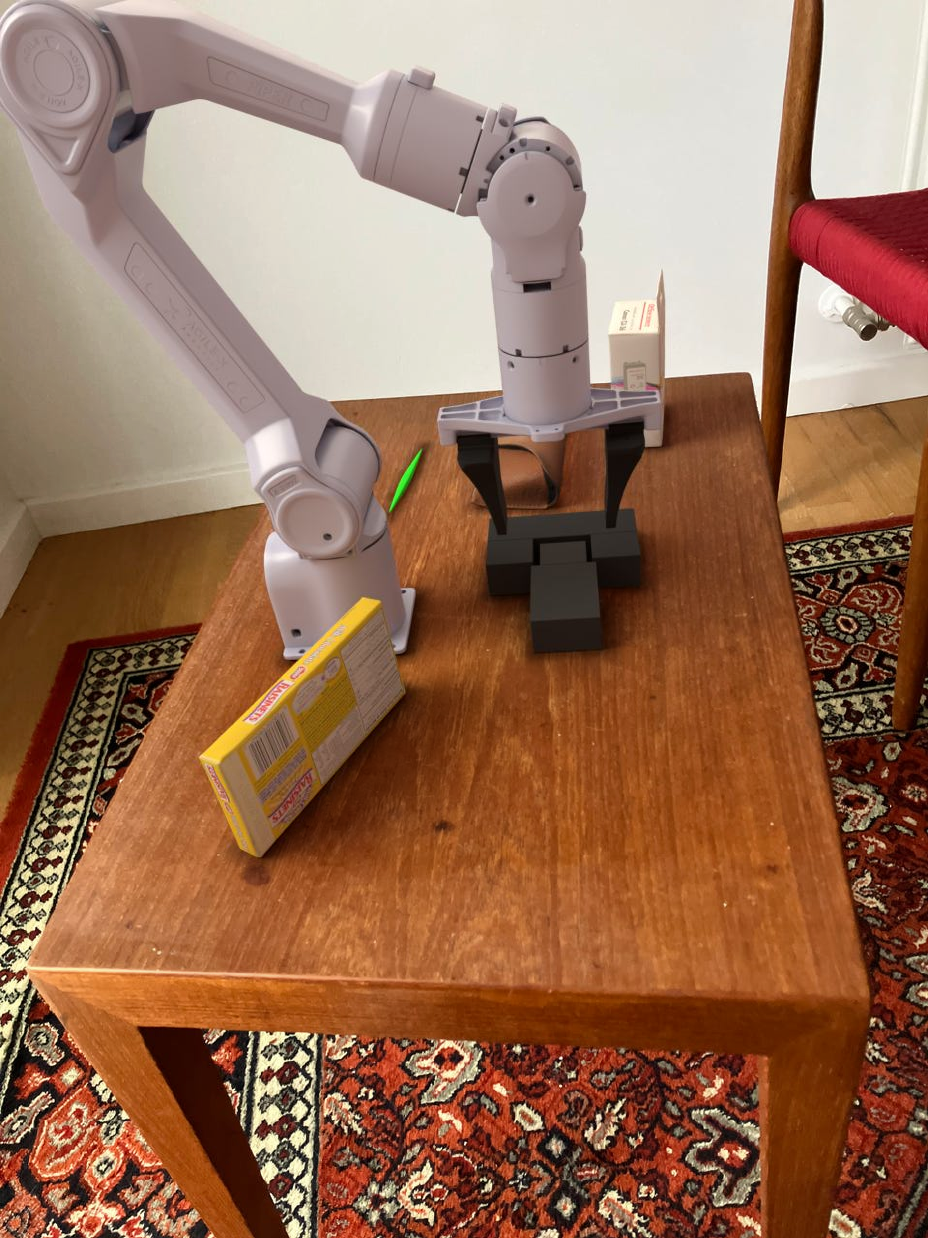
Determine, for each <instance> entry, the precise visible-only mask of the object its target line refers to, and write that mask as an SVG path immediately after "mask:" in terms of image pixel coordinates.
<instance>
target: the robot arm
mask: <svg viewBox="0 0 928 1238" xmlns="http://www.w3.org/2000/svg"><path fill="white" fill-rule="evenodd" d="M435 79H436V72H435V71H434V70H431V69H429V68H426V67H423V66H421V65H418V64H414V65H413V66H412V67H411V68H410V70H409V71H408V74H405V73H404V72H401V71H399V70H396V69H394V68H389V69H386V70H383V71H381V72H380V73H378V74H377V75H375V76H373V77H372V78H371V79H369V80H367V81H364V82H357V81H355V80H353V79H350V78H348V77H346V76H344V75H341V74H340V73H337V72H336V71H332V70H331V69H328V68H327V67H324V66H322V65H320V64H317V63H315V62H312V61H311V60H309V59H306V58H304V57H302V56H300V55H298V54H295V53H293V52H291V51H288V50H287V49H284V48H281V47H279V46H278V45H275V44H272V43H270V42H269V41H266V40H263V39H261V38H259V37H257V36H254V35H252V34H250V33H248V32H246V31H243V30H241V29H240V28H236V27H234V26H232V25H230V24H228V23H226V22H223V21H221V20H219V19H217V18H215V17H212V16H210V15H209V14H206V13H204V12H201V11H199V10H197V9H194V8H192V7H190V6H189V7H188V6H186V5H185V4H181V3H179V2H178V1H176V0H175V1H174V0H18V1H16V2H14V3H13V4H11V6H9V7H8V8H7V9H6V10H5V12H4V13H3V14H2V16H1V17H0V110H1V111H2V113H3V114H4V115H5V117H7V119H8V120H9V121H10V122H11V124H12V125H13V126H14V127H15V130H16V132H17V136H18V138H19V141H20V144H21V146H22V149H23V152H24V154H25V155H24V156H25V158H26V160H27V163H28V167H29V169H30V172H31V174H32V177H33V180H34V183H35V186H36V188H37V191H38V194H39V197H40V200H41V202H42V205H43V207H44V209H45V211H46V212H47V214H48V215H49V217H50V218H51V219H52V221H53V222H54V223H55V225H56V226H57V227H58V228H59V229H60V230H61V231H62V232H63V234H64V235H65V236H66V237H67V238H68V240H69V241H70V242H71V243H72V244H73V246H74V247H75V248H76V249H77V250H78V252H80V254H81V255H82V256H83V257H84V258H85V259H86V261H87V262H88V263H89V264H90V266H91V267H92V268H93V269H94V270H95V272H97V274H98V275H99V277H101V278H102V280H104V282H105V283H106V284H107V285H108V286H109V288H110V289H111V290H112V292H114V294H115V295H116V296H117V298H119V299H120V300H121V302H122V303H123V304H124V305H125V306H126V308H127V309H128V311H129V312H130V313H132V315H133V316H134V318H136V319H137V321H138V322H139V323H140V324H141V325H142V327H143V328H144V329H145V330H146V331H147V333H148V334H149V335H150V336H151V337H152V338H153V340H154V341H155V342H156V343H157V344H158V345H159V346H160V348H161V349H162V350H163V351H164V352H165V354H166V355H167V356H168V357H169V359H171V360H172V362H173V363H174V364H175V365H176V367H177V368H178V369H179V370H180V371H181V372H182V374H183V375H184V376H185V377H186V378H187V380H189V382H190V383H191V384H192V385H193V386H194V388H195V389H196V390H197V391H198V392H199V394H200V395H201V396H202V397H203V398H204V400H205V401H206V402H207V404H209V405H210V406H211V408H212V409H213V410H214V411H215V412H216V413H217V414H218V416H219V417H220V418H221V419H222V420H223V421H224V423H225V424H226V425H227V426H228V427H229V429H230V430H231V431H232V432H233V433H234V435H235V436H236V437H237V438H238V439H239V440H240V441H241V443H242V444H243V446H244V449H245V455H246V459H247V460H246V461H247V465H248V472H249V478H250V483H251V486H252V489H253V491H254V492H255V493H256V494H257V495H258V497H259V498H260V499H261V500H262V501H263V503H264V505H265V506H266V508H267V510H268V512H269V515H270V516H269V517H270V520H271V523H272V526H273V529H274V531H272V532H271V533H270V534H269V535H268V537H267V538H266V542H265V547H264V552H263V553H264V554H263V571H264V581H265V586H266V590H267V592H268V596H269V600H270V602H271V605H272V610H273V612H274V616H275V620H276V622H277V625H278V628H279V632H280V635H281V638H282V641H283V645H284V649H283V657H284V658H283V659H285V660H287V661H293V660H296V661H297V660H299V659H300V658H301V657H302V656H303V655H304V654H306V653H307V652H308V651H309V650H310V649H311V648H312V647H313V646H314V645H315V644H316V643H317V642H318V641H319V640H320V639H321V638H322V637H323V636H324V635H325V634H326V633H327V632H328V631H329V630H330V629H331V628H332V627H333V626H334V625H335V624H336V623H337V622H338V621H339V620H340V619H341V618H342V617H343V616H344V615H345V614H346V613H347V612H348V611H349V610H350V609H351V608H352V607H353V606H354V605H355V604H356V603H358V602H359V601H360V600H361V598H362V597H365V598H370V599H375V600H380V601H381V603H382V607H383V611H384V615H385V618H386V622H387V626H388V630H389V633H390V637H391V641H392V644H393V648H394V652H395V655H401V654H404V653H405V652H406V651H407V648H408V643H409V636H410V630H411V626H412V618H413V613H414V608H415V602H416V597H417V592H416V589H415V588H413V587H405V588H404V587H403V588H402V587H401V583H400V577H399V572H398V567H397V562H396V557H395V553H394V547H393V543H392V538H391V537H392V536H391V534H390V528H389V523H388V518H387V513H386V510H384V507H383V506H382V505H381V504H380V502H379V501H378V499H377V497H376V495H375V493H374V487H375V484H376V483H377V482H378V479H379V477H380V474H381V472H382V465H383V459H382V454H381V451H380V448H379V446H378V444H377V442H376V441H375V439H374V438H373V437H372V436H371V435H370V434H369V432H368V431H366V430H365V429H363V428H362V427H361V426H359V425H357V424H354V423H353V422H351V421H349V420H347V419H346V418H345V417H343V416H342V415H341V414H340V413H339V412H338V411H337V410H336V409H335V407H334V405H332V403H331V402H330V401H329V400H328V399H325V398H322V397H320V396H316V395H312V394H309V393H306V392H305V391H303V390H302V388H301V387H300V385H298V383H297V382H296V381H295V379H294V378H293V376H292V375H291V374H290V373H289V372H288V371H287V369H286V368H285V367H284V365H283V364H282V363H281V361H280V360H279V359H278V358H277V356H276V355H275V354H274V353H273V352H272V350H271V349H270V347H269V346H268V344H266V343H265V341H264V340H263V339H262V337H261V336H260V335H259V334H258V332H257V330H255V329H254V327H253V325H252V324H250V322H249V321H248V320H247V318H246V317H245V315H244V314H243V313H242V312H241V311H240V309H239V308H238V307H237V305H236V304H235V302H233V300H232V298H230V297H229V295H228V294H227V293H226V292H225V290H224V289H223V287H222V286H221V285H220V284H219V282H218V281H217V280H216V279H215V277H214V276H213V274H211V272H210V271H209V270H208V269H207V267H206V266H205V264H204V263H203V262H202V261H201V260H200V259H199V257H198V256H197V255H196V253H195V252H194V251H193V249H192V248H191V247H190V246H189V244H188V243H187V242H186V241H185V239H184V237H182V236H181V234H180V233H179V232H178V230H177V229H176V228H175V227H174V225H173V224H172V223H171V221H170V220H169V219H168V217H167V216H166V215H165V213H163V212H162V209H160V207H159V206H158V205H157V204H156V203H155V201H154V200H153V199H152V197H150V196H151V195H149V193H148V192H147V190H145V188H144V185H143V179H144V178H143V177H144V169H145V168H144V167H145V156H146V145H147V136H148V128H149V126H150V123H151V122H152V119H153V117H154V114H155V113H156V111H157V110H159V109H164V108H168V107H171V106H176V105H180V104H184V103H188V102H192V101H196V100H203V101H207V102H210V103H214V104H217V105H220V106H222V107H226V108H229V109H232V110H235V111H238V112H241V113H244V114H247V115H250V116H252V117H256V118H259V119H262V120H265V121H269V122H271V123H274V124H277V125H279V126H283V127H286V128H289V129H292V130H295V131H298V132H301V133H304V134H307V135H310V136H313V137H316V138H319V139H322V140H325V141H328V142H331V143H334V144H337V145H340V146H342V148H343V149H344V151H345V152H346V153H347V155H348V158H349V159H350V160H351V162H352V163H353V164H352V165H353V166H354V168H355V170H356V172H357V174H358V175H359V177H360V178H361V179H363V180H366V181H369V182H372V183H374V184H377V185H379V186H381V187H385V188H387V189H389V190H392V191H395V192H397V193H399V194H403V195H404V196H408V197H410V198H413V199H416V200H418V201H420V202H423V203H426V204H429V205H431V206H434V207H437V208H439V209H442V210H444V211H447V212H448V213H452V214H455V215H457V216H460V217H462V218H467V217H478V218H479V221H480V223H481V225H482V228H483V229H484V231H485V233H487V235H488V236H489V238H490V245H491V254H492V265H493V266H492V268H491V269H490V282H491V292H492V303H493V312H494V321H495V322H494V323H495V331H496V341H497V343H496V344H497V352H498V363H499V371H500V373H499V374H500V381H501V390H502V391H501V392H502V395H498V396H494V397H490V398H485V399H481V400H476V401H473V402H468V403H463V404H458V405H452V406H442V407H440V408H439V410H438V414H437V419H436V422H437V428H438V436H439V442H440V446H441V447H448V446H450V447H451V446H455V445H457V447H456V448H457V454H456V461H457V464H458V467H459V468H460V470H461V471H462V473H463V474H464V475H465V476H466V477H467V478H468V479H469V481H470V482H471V484H472V485H473V486H474V488H475V487H476V489H477V490H478V492H479V494H480V495H481V497H482V499H483V500H484V502H485V504H486V506H487V507H486V509H487V511H488V513H489V515H490V518H492V520H493V522H494V525H495V529H496V532H497V535H507V522H508V518H507V517H508V509H507V506H506V501H505V495H504V490H503V485H502V479H501V472H500V460H499V447H498V437H509V436H531V439H532V441H533V442H537V443H540V442H554V441H560V440H562V439H564V437H565V434H567V435H568V434H571V433H574V432H585V431H586V432H587V431H597V430H603V433H604V455H605V477H604V478H605V479H604V496H603V498H604V500H603V502H604V503H603V504H604V505H603V506H604V510H605V521H606V529H607V528H615V527H616V521H617V515H618V510H619V509H620V506H621V502H622V499H623V495H624V493H625V490H626V488H627V485H628V483H629V481H630V478H631V477H632V474H633V473H634V471H635V469H636V467H637V465H638V464H639V463H640V461H641V459H642V457H643V455H644V451H645V448H646V447H645V437H644V429H645V430H660V429H661V399H660V395H659V391H658V390H648V391H632V390H616V389H611V388H600V387H592V385H591V364H590V363H591V362H590V341H589V340H590V337H589V336H590V335H589V311H588V310H589V309H588V308H589V307H588V286H587V283H588V282H587V265H586V264H587V263H586V260H585V258H584V256H583V255H582V252H583V248H584V234H583V229H582V226H581V225H580V223H581V221H582V218H583V217H584V213H585V208H586V203H587V193H586V191H585V190H584V187H583V174H582V162H581V158H580V154H579V153H578V150H577V148H576V146H575V144H574V142H573V141H572V140H571V138H570V137H569V136H568V135H567V134H566V133H565V132H564V131H563V130H562V129H561V128H560V127H558V126H556V125H554V124H551V122H550V121H549V120H548V119H547V118H546V117H544V116H541V115H528V116H523V117H518V118H517V115H518V110H517V108H516V107H514V106H512V105H509V104H507V103H504V102H501V103H500V104H499V108H498V110H496V109H494V108H491V107H488V106H486V105H483V104H481V103H478V102H475V101H474V100H471V99H468V98H466V97H464V96H460V95H459V94H456V93H454V92H451V91H448V90H446V89H444V88H441V87H438V86H436V85H434V82H435ZM486 114H487V115H486ZM457 205H458V206H457ZM455 211H456V212H455Z"/></svg>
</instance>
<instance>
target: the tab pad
mask: <svg viewBox="0 0 928 1238" xmlns="http://www.w3.org/2000/svg"><path fill="white" fill-rule="evenodd" d="M529 595H530V597H529V598H530V600H529V602H530V605H529V606H530V607H529V624H530V634H531V635H530V636H531V643H532V644H531V645H532V652H533V653H534V654H538V653H540V654H541V653H559V652H560V653H561V652H578V651H597V650H602V649H603V641H602V640H603V638H602V621H601V620H602V619H601V618H602V617H601V605H600V604H601V603H600V594H599V589H598V580H597V567H596V562H587V557H586V542H585V541H577V542H562V543H548V544H540V565H538V566H531V593H530V594H529Z"/></svg>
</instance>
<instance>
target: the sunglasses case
mask: <svg viewBox="0 0 928 1238" xmlns="http://www.w3.org/2000/svg"><path fill="white" fill-rule="evenodd" d="M567 440H568V433H567V434H565V437H564V439H562V440H560V441H554V442H540V443H537V442H533V441H532V439H531V436H509V437H498V447H499V460H500V472H501V479H502V485H503V490H504V495H505V501H506V506H507V510H547V509H549V508H550V507H552V506H554V505H555V504H556V503H557V501H558V500H559V498H560V493H561V487H562V480H563V473H564V465H565V456H566V448H567ZM471 496H472V497H471V501H470V502H471V504H473V505H475V506H477V507H479V508H480V507H481V508H487V506H486V504H485V502H484V500H483V499H482V497H481V495H480V494H479V492H478V490H477V489H476V487H475V486H474V489H473V491H472V494H471Z"/></svg>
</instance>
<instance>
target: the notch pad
mask: <svg viewBox="0 0 928 1238" xmlns="http://www.w3.org/2000/svg"><path fill="white" fill-rule="evenodd" d="M635 513H636V512H635V509H634V508H633V507H630V508H629V507H628V508H619V510H618V515H617V521H616V527H615V528H607V529H606V521H605V509H603V510H602V509H601V510H589V511H587V510H586V511H576V512H575V511H574V512H560V513H546V514H531V515H518V516H517V515H516V516H507V518H508V522H507V535H497V532H496V529H495V525H494V522H493V520H492V517H490V518H489V519H488V520H489V521H488V530H487V542H486V543H487V544H486V556H485V572H486V573H485V574H486V579H487V587H488V595H489V596H506V595H521V594H531V566H538V565H540V544H548V543H562V542H577V541H585V542H586V557H587V562H596V567H597V580H598V590H602V589H618V588H635V587H641V586H642V553H641V548H640V541H639V533H638V527H637V521H636V514H635Z"/></svg>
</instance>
